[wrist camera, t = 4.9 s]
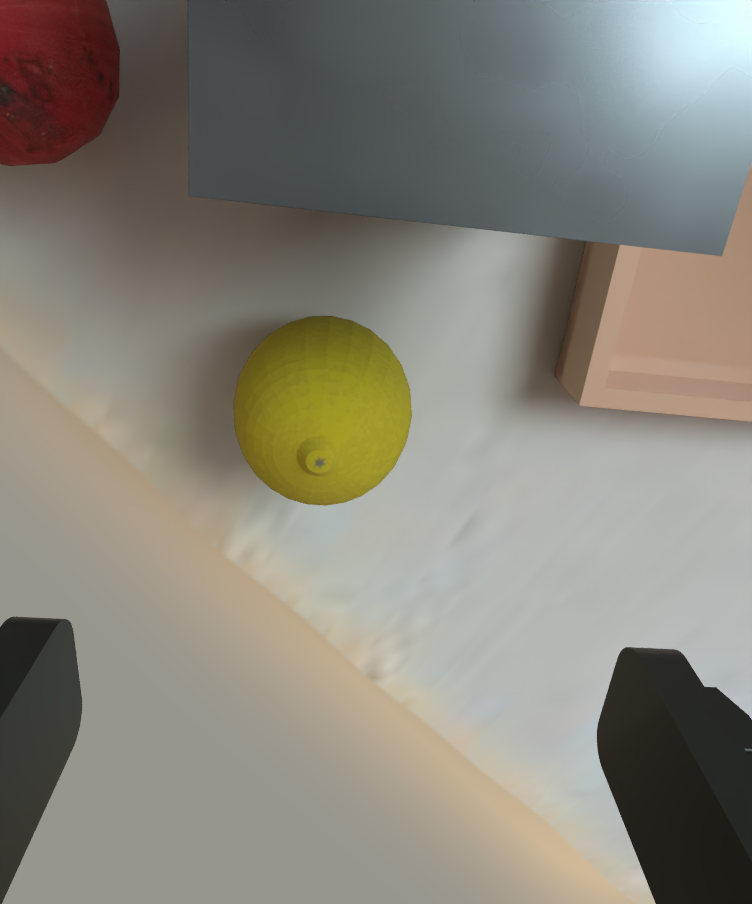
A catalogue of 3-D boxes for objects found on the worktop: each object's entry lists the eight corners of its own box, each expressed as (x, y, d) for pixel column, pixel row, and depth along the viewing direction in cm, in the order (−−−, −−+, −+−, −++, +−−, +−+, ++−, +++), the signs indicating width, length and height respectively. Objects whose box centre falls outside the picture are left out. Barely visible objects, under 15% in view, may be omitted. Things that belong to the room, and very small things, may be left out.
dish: (554, 376, 25) (579, 405, 23) (624, 74, 21) (665, 65, 19) (805, 401, 26) (858, 431, 23) (921, 114, 22) (1001, 111, 19)
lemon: (324, 463, 27) (314, 585, 19) (220, 362, 25) (167, 455, 18) (432, 373, 25) (466, 469, 18) (331, 259, 23) (324, 314, 16)
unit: (273, 164, 22) (188, 196, 10) (286, -130, 19) (185, -556, 7) (531, 195, 23) (722, 255, 11) (586, -85, 20) (931, -409, 8)
